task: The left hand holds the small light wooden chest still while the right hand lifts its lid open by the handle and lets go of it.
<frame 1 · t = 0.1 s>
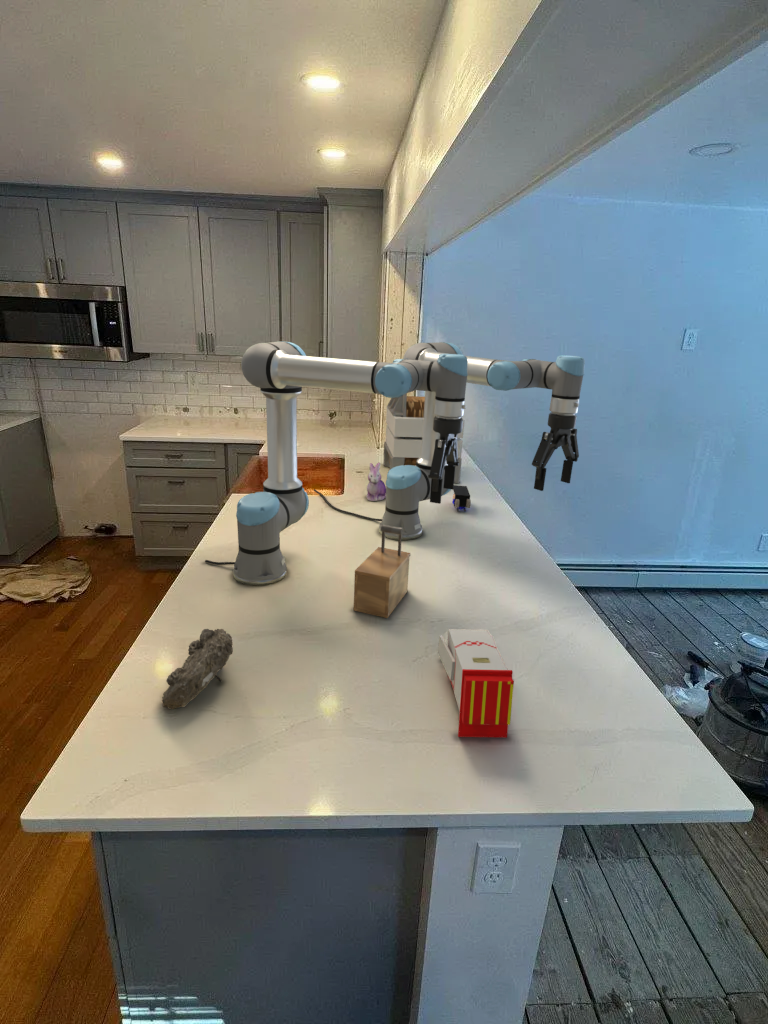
left hand: (442, 495, 153), 28 cm above the counter, tool pointing down, fingers open, 13 cm apart
right hand: (552, 485, 166), 28 cm above the counter, tool pointing down, fingers open, 13 cm apart
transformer: (419, 473, 275), on the counter
lid: (384, 548, 149), point 15 cm above the counter, hinge at 0.0°
chest: (381, 600, 154), on the counter
toy: (469, 691, 119), on the counter
figurine: (375, 498, 236), on the counter
figurine character: (460, 507, 229), on the counter
fossil: (203, 680, 118), on the counter
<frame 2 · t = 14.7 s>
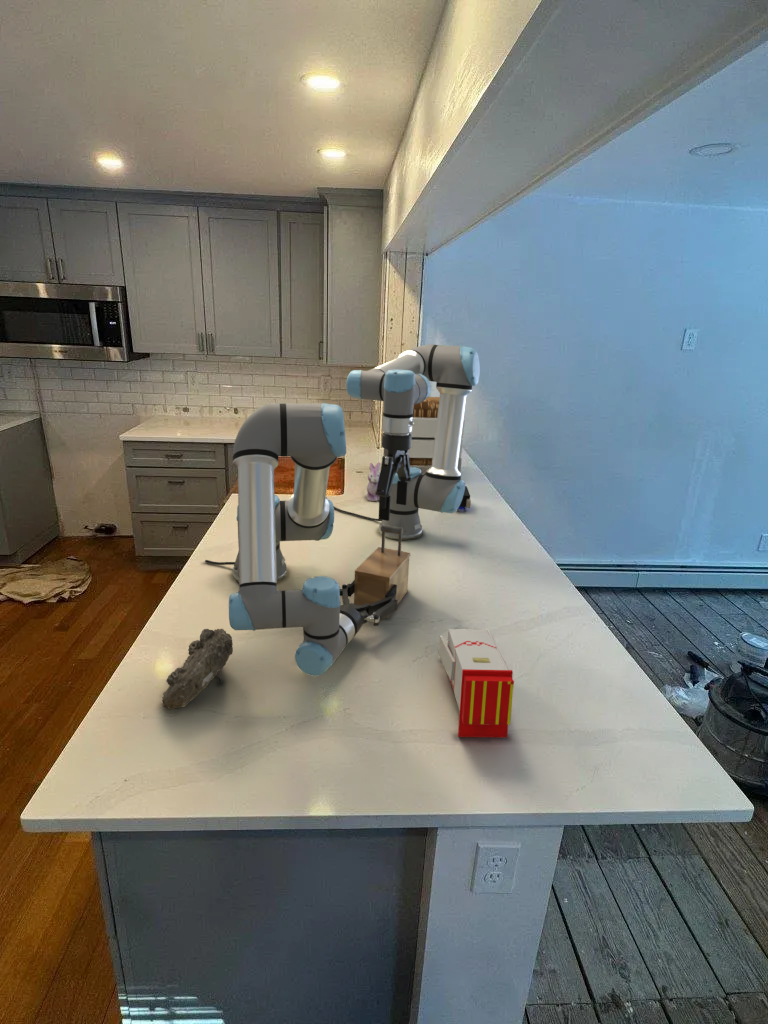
left hand: (376, 585, 148), 7 cm above the counter, tool horizontal, fingers closed on chest, 9 cm apart
right hand: (392, 511, 151), 24 cm above the counter, tool pointing down, fingers open, 13 cm apart
chest: (381, 600, 154), on the counter, touching left hand
everything else where it was.
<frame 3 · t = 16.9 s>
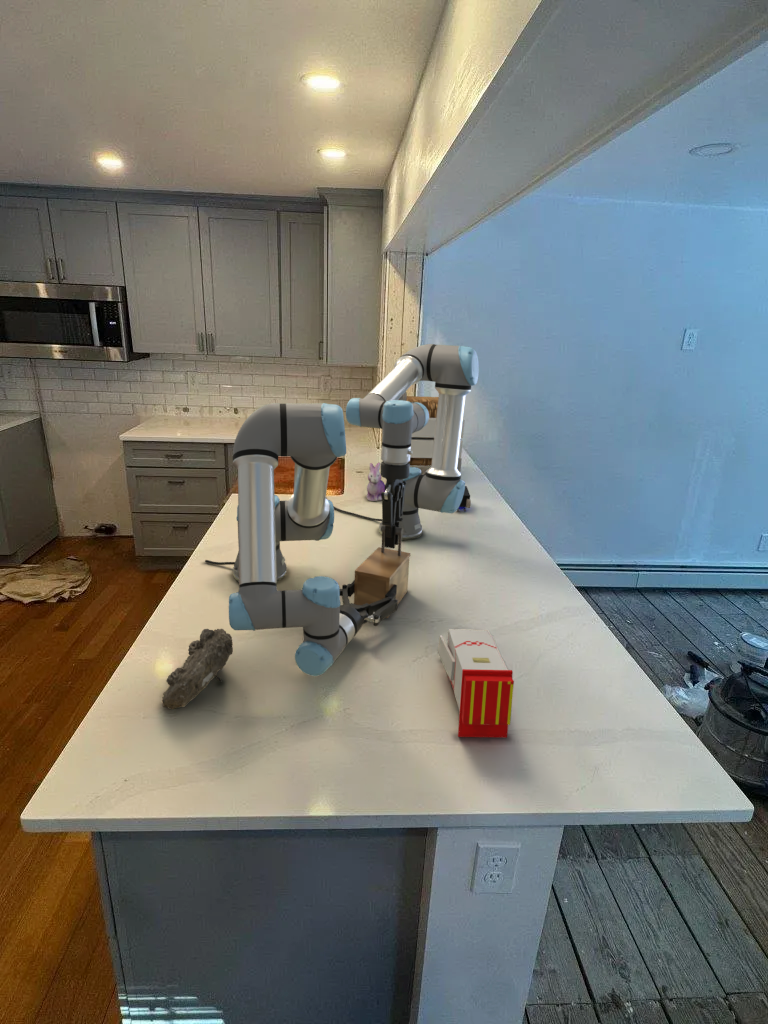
left hand: (376, 585, 148), 7 cm above the counter, tool horizontal, fingers closed on chest, 9 cm apart
right hand: (391, 545, 154), 14 cm above the counter, tool pointing down, fingers closed on lid, 2 cm apart
lid: (384, 548, 149), point 15 cm above the counter, hinge at -0.1°, touching right hand
chest: (381, 600, 154), on the counter, touching left hand
everything else where it was.
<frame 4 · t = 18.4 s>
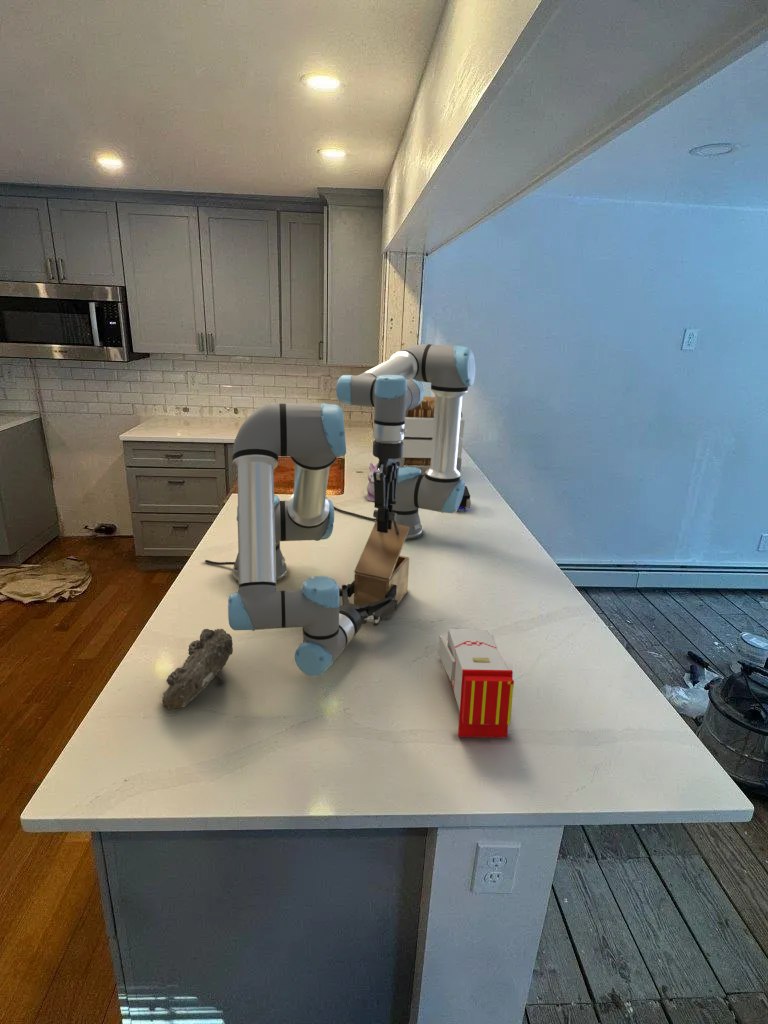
left hand: (376, 585, 148), 7 cm above the counter, tool horizontal, fingers closed on chest, 9 cm apart
right hand: (384, 529, 146), 21 cm above the counter, tool pointing down, fingers closed on lid, 2 cm apart
lid: (380, 540, 145), point 19 cm above the counter, hinge at 32.1°, touching right hand
chest: (381, 600, 154), on the counter, touching left hand
everything else where it was.
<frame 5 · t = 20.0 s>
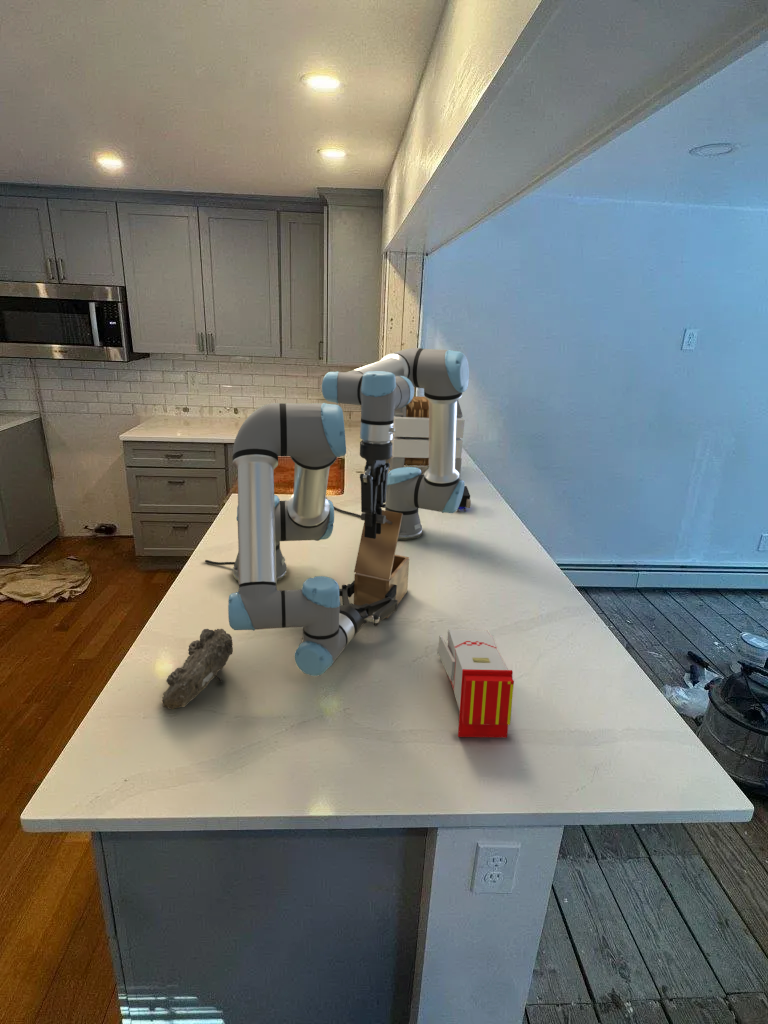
left hand: (376, 585, 148), 7 cm above the counter, tool horizontal, fingers closed on chest, 9 cm apart
right hand: (372, 534, 139), 22 cm above the counter, tool pointing down, fingers open, 3 cm apart
lid: (373, 541, 140), point 20 cm above the counter, hinge at 63.4°
chest: (381, 600, 154), on the counter, touching left hand
everything else where it was.
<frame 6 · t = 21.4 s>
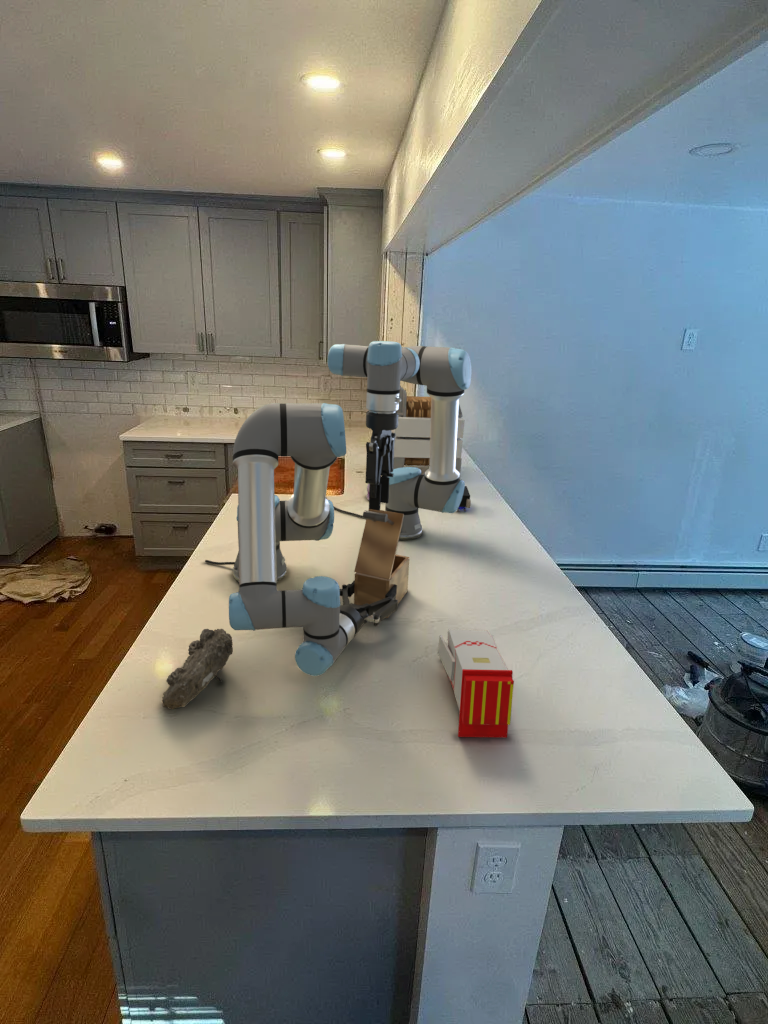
left hand: (376, 585, 148), 7 cm above the counter, tool horizontal, fingers closed on chest, 9 cm apart
right hand: (378, 505, 139), 29 cm above the counter, tool pointing down, fingers open, 5 cm apart
lid: (374, 540, 140), point 20 cm above the counter, hinge at 59.5°
chest: (381, 600, 154), on the counter, touching left hand
everything else where it was.
when the left hand's fingers open (7 cm above the counter, at t = 23.9 s): chest stays where it is, on the counter.
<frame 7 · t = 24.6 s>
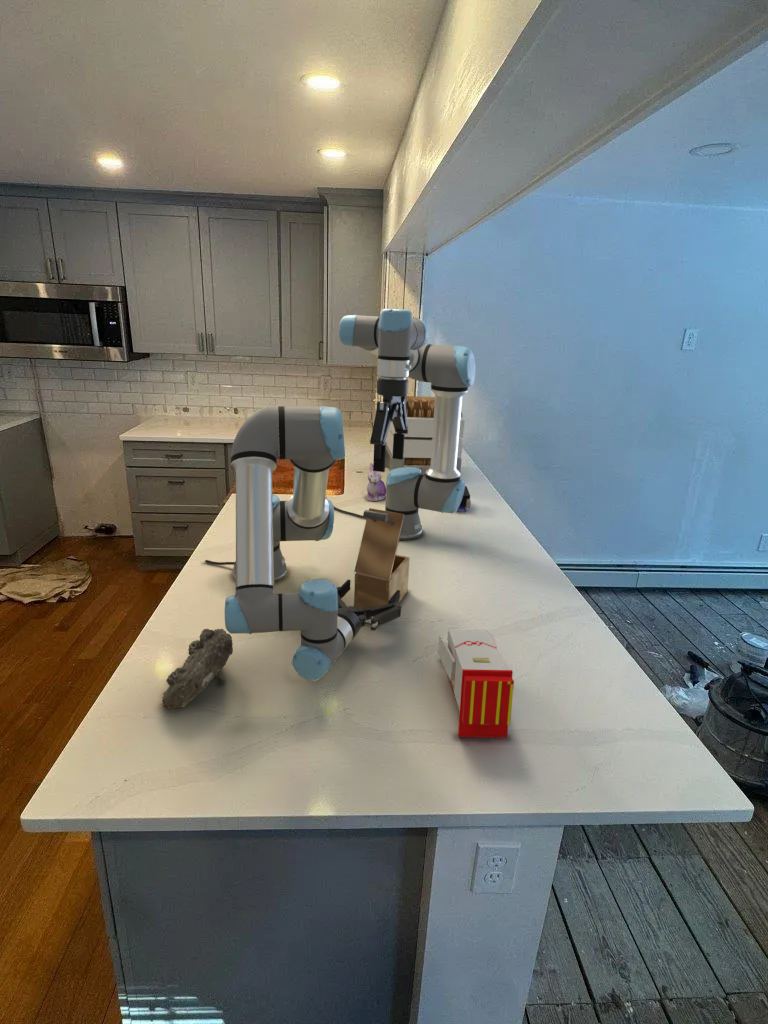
left hand: (373, 589, 145), 7 cm above the counter, tool horizontal, fingers open, 13 cm apart
right hand: (388, 464, 141), 38 cm above the counter, tool pointing down, fingers open, 13 cm apart
lid: (374, 540, 141), point 20 cm above the counter, hinge at 58.8°
chest: (381, 600, 154), on the counter
everything else where it was.
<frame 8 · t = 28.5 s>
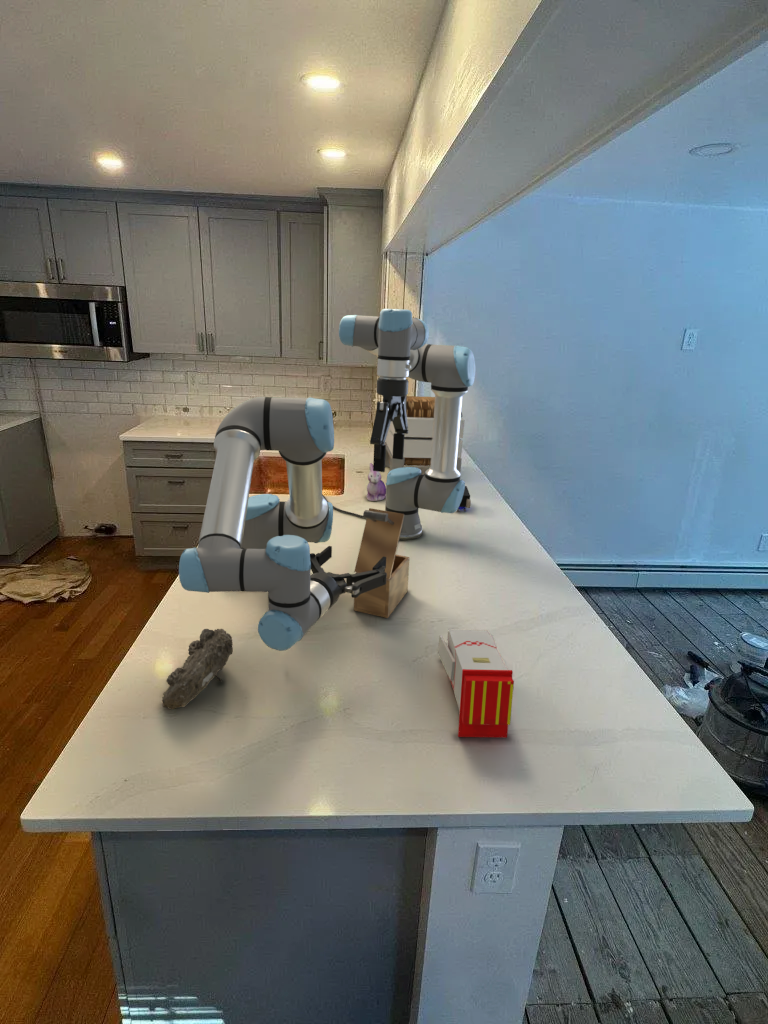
left hand: (357, 556, 131), 21 cm above the counter, tool horizontal, fingers open, 13 cm apart
right hand: (388, 464, 141), 38 cm above the counter, tool pointing down, fingers open, 13 cm apart
nothing on the counter moved.
at the end: lid at +59° (first picture: +0°); the left hand is holding nothing; the right hand is holding nothing; chest tilted 0°; chest never tilted more than 1° during the clip; chest moved 0.0 cm from its start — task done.
